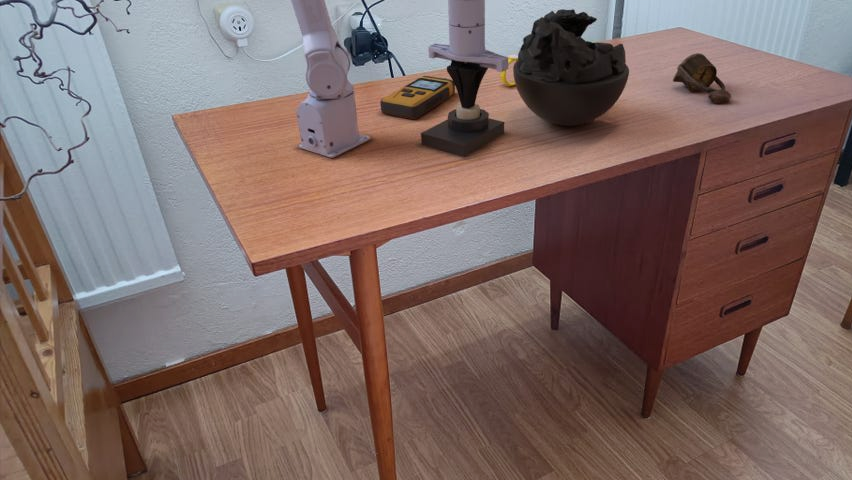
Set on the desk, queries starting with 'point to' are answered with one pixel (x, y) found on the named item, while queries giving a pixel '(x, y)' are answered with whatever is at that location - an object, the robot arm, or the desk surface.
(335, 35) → the robot arm
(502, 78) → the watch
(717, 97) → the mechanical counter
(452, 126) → the switch box
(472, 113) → the power button
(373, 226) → the desk surface
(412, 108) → the electronic device
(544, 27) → the coal bowl
